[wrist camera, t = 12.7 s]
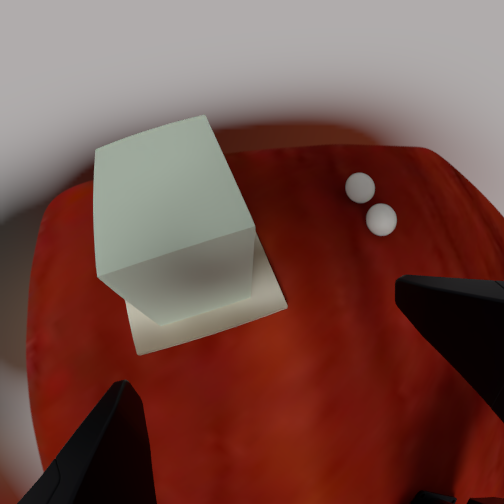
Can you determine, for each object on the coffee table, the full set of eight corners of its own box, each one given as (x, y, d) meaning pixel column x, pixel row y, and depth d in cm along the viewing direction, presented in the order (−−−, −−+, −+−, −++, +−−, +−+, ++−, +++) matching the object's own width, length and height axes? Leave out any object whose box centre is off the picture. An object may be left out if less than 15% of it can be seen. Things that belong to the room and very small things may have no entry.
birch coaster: (286, 308, 21) (287, 306, 20) (140, 355, 19) (137, 354, 18) (236, 191, 26) (236, 187, 25) (117, 229, 24) (115, 225, 23)
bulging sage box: (250, 297, 21) (255, 226, 12) (160, 326, 19) (97, 276, 10) (216, 207, 24) (204, 114, 15) (140, 231, 23) (95, 149, 14)
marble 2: (392, 225, 25) (405, 208, 22) (383, 247, 23) (397, 231, 21) (367, 210, 25) (378, 191, 23) (357, 230, 24) (368, 212, 21)
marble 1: (372, 195, 26) (382, 177, 24) (363, 214, 25) (374, 195, 22) (347, 181, 27) (356, 161, 24) (337, 198, 26) (345, 178, 23)
